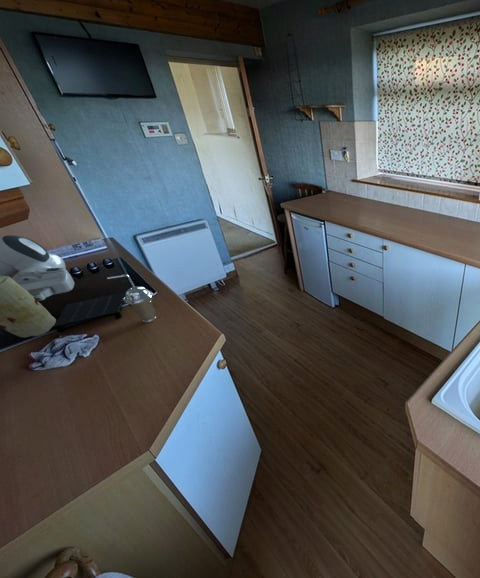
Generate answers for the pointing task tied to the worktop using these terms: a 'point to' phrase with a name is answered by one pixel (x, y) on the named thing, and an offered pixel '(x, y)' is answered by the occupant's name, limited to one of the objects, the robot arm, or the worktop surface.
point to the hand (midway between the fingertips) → (16, 302)
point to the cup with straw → (139, 301)
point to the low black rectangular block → (90, 310)
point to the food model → (22, 311)
